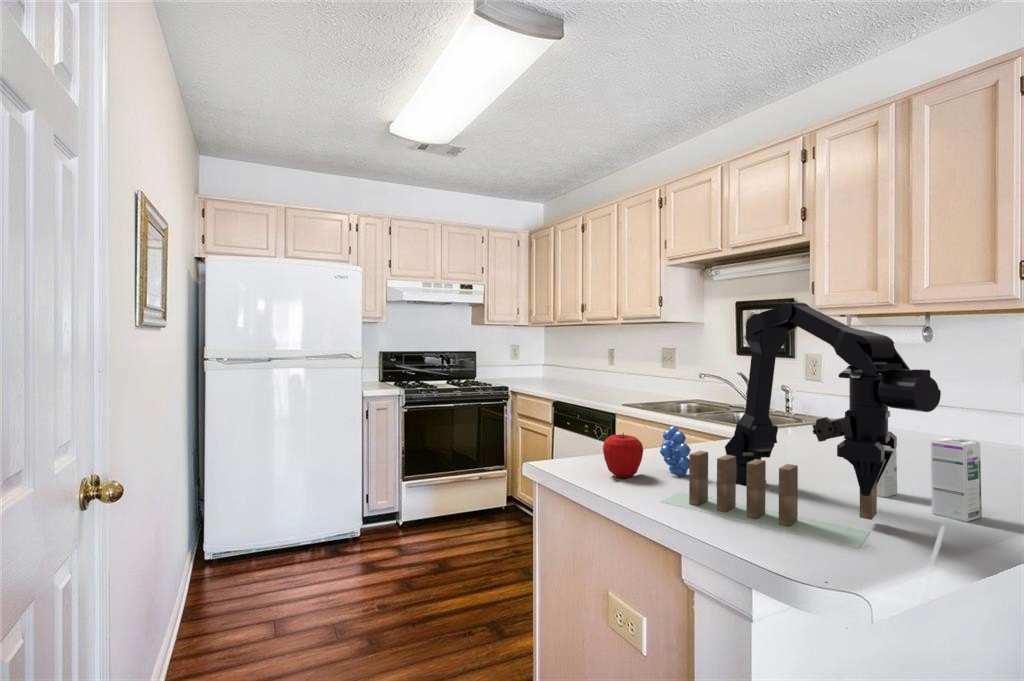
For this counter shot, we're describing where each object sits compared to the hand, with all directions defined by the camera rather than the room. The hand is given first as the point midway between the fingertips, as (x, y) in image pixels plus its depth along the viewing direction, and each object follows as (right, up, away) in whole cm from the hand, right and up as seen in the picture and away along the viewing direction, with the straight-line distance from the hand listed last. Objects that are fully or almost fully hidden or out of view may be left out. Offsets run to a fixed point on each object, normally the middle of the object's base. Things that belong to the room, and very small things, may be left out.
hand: (868, 492), depth 92 cm
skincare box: (+18, -7, +22) cm, 29 cm away
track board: (-18, -6, +5) cm, 19 cm away
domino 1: (-26, -6, +12) cm, 29 cm away
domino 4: (-14, -6, +1) cm, 15 cm away
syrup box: (+22, -7, +7) cm, 24 cm away
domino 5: (0, -4, 0) cm, 4 cm away
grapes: (-24, -7, +36) cm, 44 cm away
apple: (-36, -7, +34) cm, 51 cm away
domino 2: (-22, -6, +8) cm, 24 cm away
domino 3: (-18, -6, +5) cm, 19 cm away
